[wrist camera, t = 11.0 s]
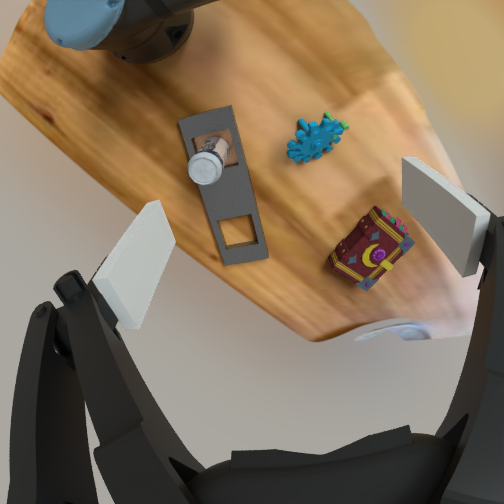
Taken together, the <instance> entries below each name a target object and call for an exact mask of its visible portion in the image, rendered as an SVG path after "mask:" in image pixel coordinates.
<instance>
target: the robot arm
mask: <svg viewBox="0 0 504 504" xmlns="http://www.w3.org/2000/svg"><path fill="white" fill-rule="evenodd" d="M215 1H219V0H48V1H47V3H46V7H45V13H44V23H45V28H46V32H47V34H48V36H49V37H50V39H51V40H52V41H53V42H54V43H56V44H57V45H59V46H61V47H65V48H72V49H75V50H79V51H81V50H86V49H89V50H108V51H112V52H113V54H115V55H116V56H117V57H118V58H120V59H122V60H124V61H127V62H131V63H141V64H145V63H152V62H156V61H159V60H162V59H164V58H166V57H168V56H170V55H171V54H173V53H174V52H175V51H177V50H178V49H179V48H180V47H181V46H182V45H183V43H184V42H185V41H186V39H187V38H188V36H189V34H190V32H191V30H192V27H193V23H194V11H193V9H195V8H197V7H200V6H203V5H206V4H209V3H212V2H215ZM402 204H403V206H404V207H405V208H406V209H407V210H408V211H409V212H410V213H411V214H412V215H413V217H414V218H415V219H416V220H417V221H418V222H419V223H420V225H421V226H422V227H423V228H424V229H425V230H426V232H427V233H428V234H429V235H430V236H431V237H432V239H433V240H434V241H435V242H436V244H437V245H438V246H439V247H440V249H441V250H442V251H443V252H444V254H445V255H446V256H447V257H448V259H449V260H450V261H451V263H452V264H453V265H454V267H455V268H456V269H457V271H458V272H459V273H460V275H461V276H462V278H463V277H467V276H470V275H474V274H476V272H477V268H478V265H479V261H480V262H481V264H482V265H483V266H484V270H483V273H482V276H481V279H480V282H479V285H478V288H477V289H478V290H480V294H479V300H478V306H477V312H476V317H475V322H474V327H473V332H472V336H471V340H470V344H469V348H468V352H467V356H466V359H465V363H464V367H463V370H462V373H461V376H460V380H459V383H458V385H457V389H456V391H455V394H454V397H453V400H452V402H451V405H450V408H449V410H448V413H447V415H446V417H445V419H444V421H443V422H442V424H441V426H440V427H439V429H438V431H437V432H436V434H435V436H434V435H429V434H420V433H411V431H410V427H409V425H406V426H403V427H399V428H396V429H393V430H388V431H385V432H381V433H377V434H373V435H368V436H366V437H364V438H362V439H360V440H358V441H355V442H353V443H351V444H349V445H346V446H344V447H342V448H340V449H337V450H335V451H332V452H329V453H327V454H323V455H316V454H306V453H298V452H290V451H283V450H276V449H271V450H248V451H247V450H246V451H232V453H231V460H227V461H224V462H221V463H218V464H216V465H214V466H211V467H209V468H208V469H205V468H204V467H203V466H202V465H201V464H200V463H199V462H198V461H197V460H196V459H195V458H194V457H193V456H192V455H191V454H190V452H189V451H188V450H187V448H186V447H185V446H184V444H183V443H182V441H181V440H180V438H179V437H178V435H177V434H176V433H175V431H174V429H173V428H172V426H171V425H170V423H169V422H168V420H167V419H166V417H165V416H164V414H163V413H162V411H161V409H160V408H159V406H158V404H157V403H156V401H155V399H154V398H153V396H152V394H151V392H150V391H149V389H148V387H147V385H146V384H145V382H144V380H143V379H142V377H141V375H140V373H139V371H138V369H137V367H136V365H135V363H134V361H133V360H132V358H131V356H130V354H129V352H128V350H127V348H126V346H125V344H124V341H123V339H122V337H121V335H120V333H119V332H118V330H117V329H116V328H115V327H116V324H117V322H118V321H119V322H120V323H121V325H122V326H123V328H124V329H125V330H135V329H140V327H141V325H142V322H143V320H144V317H145V314H146V312H147V309H148V307H149V304H150V302H151V299H152V297H153V294H154V292H155V289H156V287H157V284H158V282H159V280H160V277H161V275H162V273H163V270H164V268H165V265H166V263H167V261H168V259H169V256H170V254H171V252H172V250H173V248H174V245H175V243H176V241H175V238H174V236H173V233H172V231H171V228H170V226H169V223H168V221H167V218H166V215H165V213H164V210H163V208H162V205H161V202H160V200H156V201H152V202H148V203H147V204H146V205H145V206H144V208H143V209H142V210H141V212H140V213H139V214H138V215H137V217H136V218H135V219H134V221H133V222H132V224H131V225H130V226H129V228H128V229H127V230H126V231H125V233H124V234H123V236H122V237H121V238H120V240H119V241H118V243H117V244H116V245H115V247H114V248H113V250H112V251H111V252H110V254H109V255H108V256H107V257H106V258H105V259H104V260H103V262H102V263H101V266H99V268H98V269H97V272H95V274H94V275H93V277H92V278H91V280H90V281H89V283H88V285H87V284H86V283H85V281H84V280H83V278H82V276H81V275H80V273H79V272H78V271H77V270H73V271H70V272H68V273H66V274H64V275H63V276H62V277H60V278H59V279H58V281H57V282H56V283H55V285H54V288H53V289H54V291H55V292H56V294H57V295H58V297H59V298H60V300H61V301H62V302H63V304H64V306H62V307H60V308H57V309H55V307H54V306H53V304H52V303H51V302H50V301H47V302H44V303H42V304H39V305H38V307H36V308H35V310H34V311H33V313H32V315H31V318H30V321H29V325H28V328H27V332H26V336H25V340H24V344H23V349H22V353H21V358H20V362H19V367H18V373H17V378H16V384H15V391H14V399H13V406H12V416H11V429H10V484H9V491H8V499H7V504H99V503H98V498H97V492H96V487H95V482H94V477H93V471H92V465H91V459H90V452H89V445H88V437H87V427H86V415H85V402H86V405H87V408H88V411H89V414H90V417H91V420H92V423H93V426H94V429H95V431H96V434H97V436H98V439H99V442H100V446H99V447H96V448H95V449H94V452H93V454H94V458H95V461H96V464H97V466H98V469H99V471H100V473H101V475H102V478H103V480H104V482H105V484H106V486H107V489H108V491H109V493H110V495H111V497H112V499H113V501H114V503H115V504H504V216H502V217H497V216H496V215H494V214H493V213H492V212H491V211H490V210H489V209H488V208H486V207H485V206H483V204H482V203H480V202H478V200H477V199H475V198H474V197H473V196H472V195H470V194H468V193H466V192H464V191H463V190H461V189H460V188H459V187H457V186H456V185H455V184H453V183H452V182H451V181H449V180H448V179H447V178H445V177H444V176H442V175H441V174H440V173H438V172H437V171H435V170H434V169H432V168H431V167H429V166H428V165H426V164H425V163H423V162H422V161H420V160H419V159H417V158H416V157H414V156H410V157H402ZM55 350H56V351H57V353H56V351H55Z"/></svg>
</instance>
